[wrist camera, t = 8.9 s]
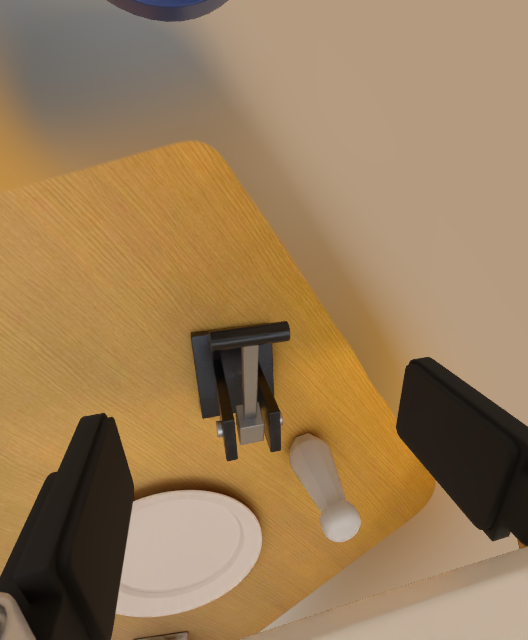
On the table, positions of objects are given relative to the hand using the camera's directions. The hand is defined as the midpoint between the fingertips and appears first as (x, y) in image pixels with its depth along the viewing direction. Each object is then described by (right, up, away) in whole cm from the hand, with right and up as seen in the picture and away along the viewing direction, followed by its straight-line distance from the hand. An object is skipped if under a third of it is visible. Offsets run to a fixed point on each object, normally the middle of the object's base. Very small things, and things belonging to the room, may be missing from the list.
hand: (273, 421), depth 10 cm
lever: (-2, -2, +17) cm, 17 cm away
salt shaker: (+5, -14, +36) cm, 39 cm away
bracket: (-4, -3, +28) cm, 29 cm away
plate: (-13, -30, +37) cm, 50 cm away
